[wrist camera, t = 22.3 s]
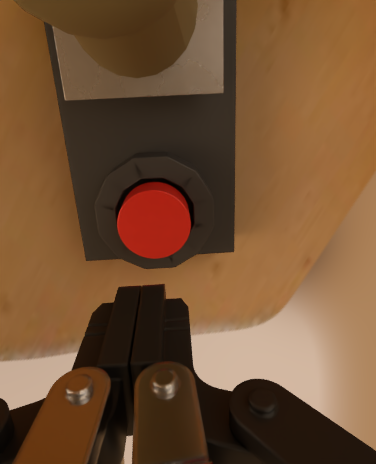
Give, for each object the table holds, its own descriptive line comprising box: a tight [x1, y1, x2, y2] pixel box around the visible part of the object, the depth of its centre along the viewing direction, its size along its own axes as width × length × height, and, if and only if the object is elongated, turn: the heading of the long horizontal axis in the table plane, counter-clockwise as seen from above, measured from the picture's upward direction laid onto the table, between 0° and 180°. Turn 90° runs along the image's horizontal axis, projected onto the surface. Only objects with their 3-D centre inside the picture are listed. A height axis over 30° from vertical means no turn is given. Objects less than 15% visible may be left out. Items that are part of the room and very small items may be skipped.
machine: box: [44, 0, 236, 269], centre depth 20 cm, size 18×10×4 cm, turn 2°
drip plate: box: [53, 0, 224, 101], centre depth 16 cm, size 8×8×1 cm
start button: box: [117, 182, 191, 259], centre depth 19 cm, size 4×4×2 cm
